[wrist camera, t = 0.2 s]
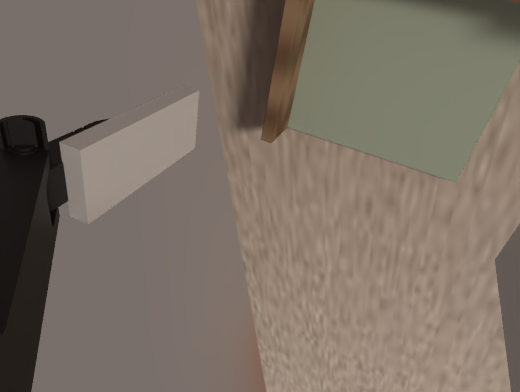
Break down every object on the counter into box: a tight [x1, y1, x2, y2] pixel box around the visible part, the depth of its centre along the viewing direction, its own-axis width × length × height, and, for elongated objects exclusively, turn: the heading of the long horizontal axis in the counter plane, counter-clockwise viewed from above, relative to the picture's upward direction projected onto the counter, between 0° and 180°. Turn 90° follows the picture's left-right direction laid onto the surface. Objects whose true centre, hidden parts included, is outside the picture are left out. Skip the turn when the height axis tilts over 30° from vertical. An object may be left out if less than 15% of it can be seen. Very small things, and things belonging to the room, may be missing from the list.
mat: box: [288, 0, 520, 182], centre depth 38 cm, size 18×20×1 cm
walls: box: [261, 0, 520, 143], centre depth 37 cm, size 18×20×6 cm
